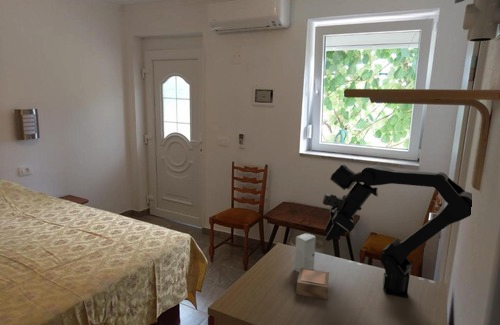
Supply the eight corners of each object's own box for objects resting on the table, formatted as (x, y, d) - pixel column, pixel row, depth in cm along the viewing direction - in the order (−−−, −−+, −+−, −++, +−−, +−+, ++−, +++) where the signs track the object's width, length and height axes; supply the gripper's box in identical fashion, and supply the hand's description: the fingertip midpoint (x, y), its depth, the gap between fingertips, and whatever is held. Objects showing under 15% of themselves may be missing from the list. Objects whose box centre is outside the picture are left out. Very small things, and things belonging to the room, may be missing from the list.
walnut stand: (328, 283, 106) (329, 271, 106) (326, 299, 98) (327, 286, 97) (299, 279, 109) (300, 267, 108) (296, 294, 100) (297, 281, 99)
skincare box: (303, 274, 111) (305, 241, 109) (293, 269, 115) (295, 236, 112) (314, 269, 116) (316, 236, 113) (303, 264, 119) (306, 232, 117)
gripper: (332, 180, 118) (306, 214, 120) (336, 188, 99) (305, 228, 102) (359, 199, 117) (331, 233, 119) (368, 210, 98) (335, 251, 101)
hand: (325, 235), depth 110 cm, fingers open, 9 cm apart
